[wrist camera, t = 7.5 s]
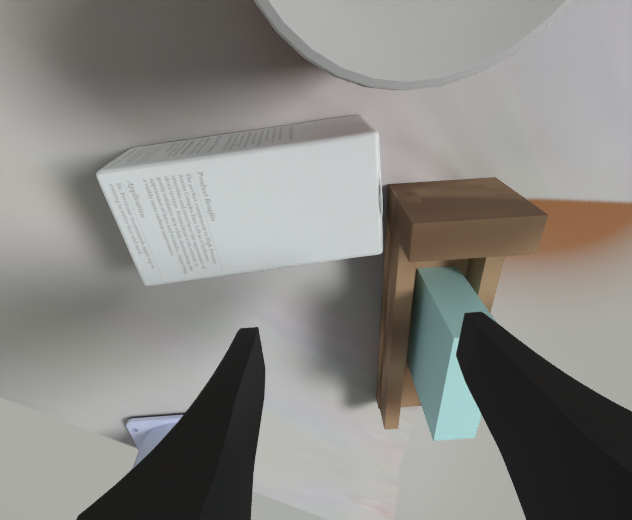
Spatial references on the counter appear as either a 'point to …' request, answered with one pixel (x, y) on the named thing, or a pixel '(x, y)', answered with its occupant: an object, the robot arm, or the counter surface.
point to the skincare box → (249, 200)
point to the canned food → (408, 36)
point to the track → (443, 260)
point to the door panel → (442, 351)
